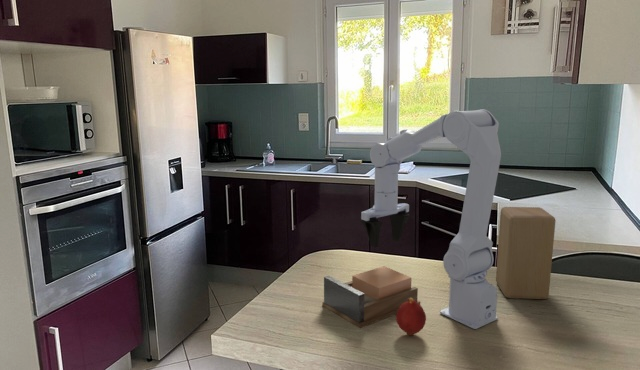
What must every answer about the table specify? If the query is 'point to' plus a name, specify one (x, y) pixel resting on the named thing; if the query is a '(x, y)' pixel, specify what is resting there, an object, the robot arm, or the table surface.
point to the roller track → (362, 302)
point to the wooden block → (525, 252)
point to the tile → (381, 282)
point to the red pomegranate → (411, 317)
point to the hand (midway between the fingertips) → (385, 243)
